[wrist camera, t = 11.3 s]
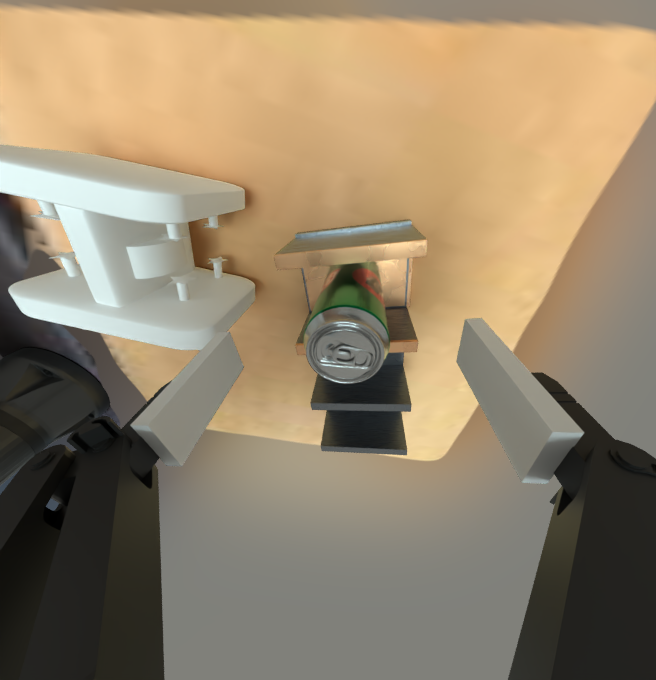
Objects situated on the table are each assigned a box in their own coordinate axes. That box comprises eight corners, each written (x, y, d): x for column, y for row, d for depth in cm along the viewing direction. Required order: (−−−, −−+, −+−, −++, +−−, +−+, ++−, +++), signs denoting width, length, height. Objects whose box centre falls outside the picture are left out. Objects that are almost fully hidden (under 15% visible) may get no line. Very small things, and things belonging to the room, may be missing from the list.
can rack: (329, 407, 35) (321, 454, 29) (297, 232, 22) (272, 252, 16) (401, 408, 33) (409, 458, 27) (413, 219, 20) (433, 234, 14)
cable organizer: (264, 188, 21) (176, 193, 11) (262, 298, 27) (204, 364, 17) (97, 152, 21) (-135, 127, 11) (132, 270, 27) (2, 319, 17)
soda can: (331, 248, 21) (302, 305, 12) (386, 258, 21) (405, 325, 11) (323, 298, 24) (295, 379, 14) (372, 308, 24) (377, 396, 14)
